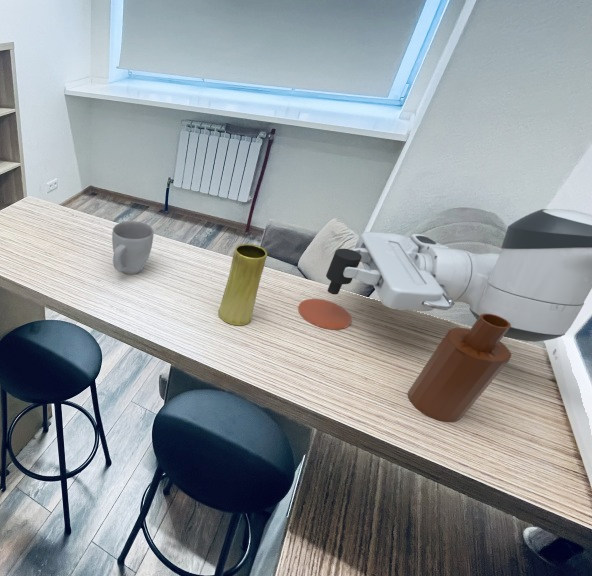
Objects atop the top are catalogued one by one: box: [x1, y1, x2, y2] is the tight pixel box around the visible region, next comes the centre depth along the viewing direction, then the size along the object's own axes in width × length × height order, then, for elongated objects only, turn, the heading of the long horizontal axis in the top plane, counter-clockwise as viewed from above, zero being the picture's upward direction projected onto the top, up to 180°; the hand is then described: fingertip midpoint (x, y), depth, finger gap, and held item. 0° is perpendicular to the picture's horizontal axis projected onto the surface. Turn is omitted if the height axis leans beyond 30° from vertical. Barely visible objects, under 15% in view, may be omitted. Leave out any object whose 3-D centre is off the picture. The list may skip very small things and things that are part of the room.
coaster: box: [297, 298, 352, 331], centre depth 78 cm, size 9×9×1 cm
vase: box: [217, 243, 268, 326], centre depth 74 cm, size 6×6×14 cm
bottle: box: [407, 313, 512, 423], centre depth 56 cm, size 6×6×16 cm
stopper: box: [325, 248, 362, 296], centre depth 73 cm, size 4×4×8 cm
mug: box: [111, 220, 154, 275], centre depth 89 cm, size 12×9×10 cm
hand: (340, 262), depth 72 cm, fingers closed on stopper, 4 cm apart
